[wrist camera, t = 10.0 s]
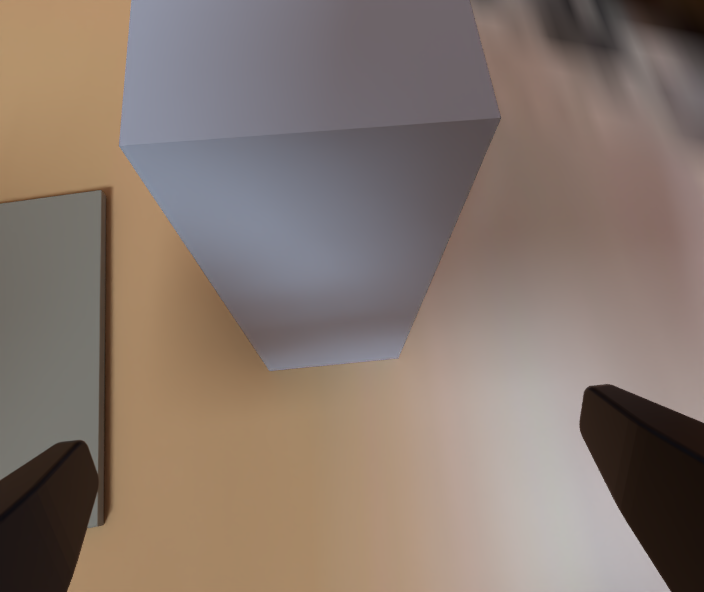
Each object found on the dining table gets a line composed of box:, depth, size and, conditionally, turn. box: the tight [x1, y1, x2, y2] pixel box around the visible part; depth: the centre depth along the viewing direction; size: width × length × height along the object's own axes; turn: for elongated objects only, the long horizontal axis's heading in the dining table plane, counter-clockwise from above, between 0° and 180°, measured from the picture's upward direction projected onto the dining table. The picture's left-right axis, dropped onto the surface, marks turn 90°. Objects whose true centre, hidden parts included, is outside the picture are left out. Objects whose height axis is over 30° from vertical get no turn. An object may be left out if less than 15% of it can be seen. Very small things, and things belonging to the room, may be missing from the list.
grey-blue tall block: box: [119, 0, 501, 371], centre depth 12 cm, size 4×4×12 cm
